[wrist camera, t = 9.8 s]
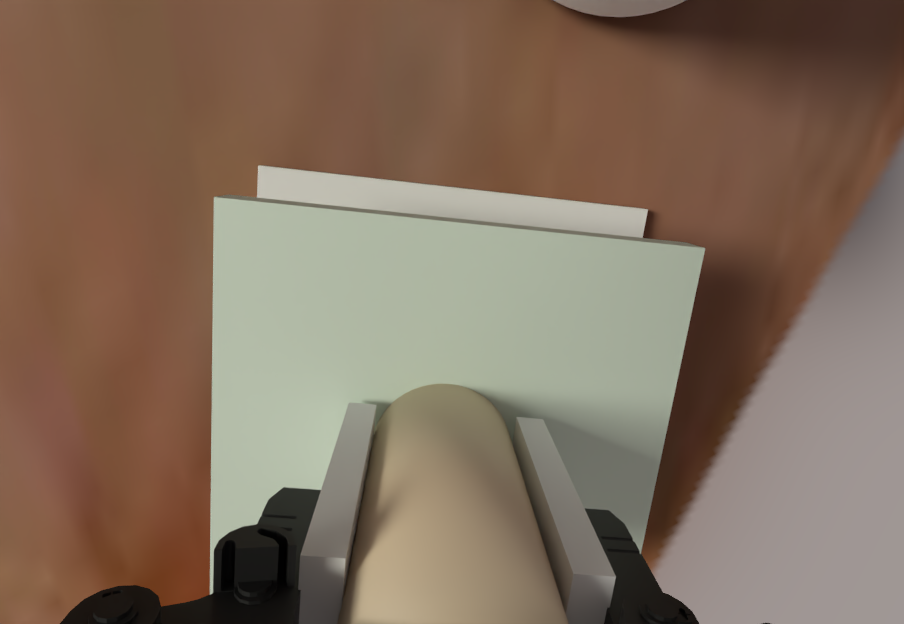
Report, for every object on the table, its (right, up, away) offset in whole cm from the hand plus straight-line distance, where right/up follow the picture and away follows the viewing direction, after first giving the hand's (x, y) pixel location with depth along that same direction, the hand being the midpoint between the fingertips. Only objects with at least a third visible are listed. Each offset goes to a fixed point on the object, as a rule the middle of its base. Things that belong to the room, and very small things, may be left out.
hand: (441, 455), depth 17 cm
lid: (0, 0, +2) cm, 2 cm away
